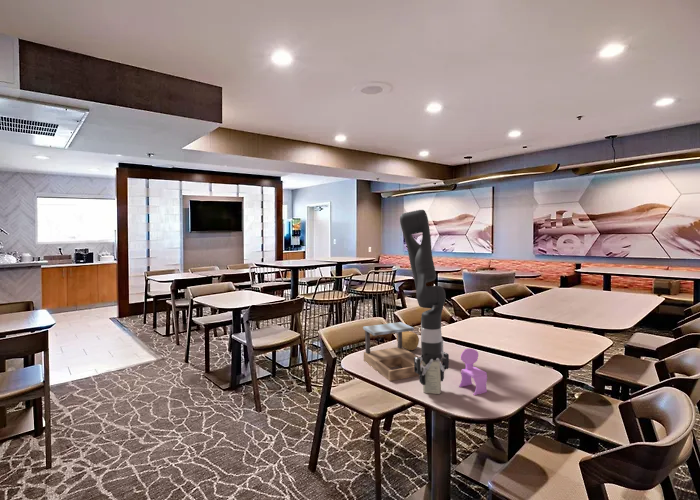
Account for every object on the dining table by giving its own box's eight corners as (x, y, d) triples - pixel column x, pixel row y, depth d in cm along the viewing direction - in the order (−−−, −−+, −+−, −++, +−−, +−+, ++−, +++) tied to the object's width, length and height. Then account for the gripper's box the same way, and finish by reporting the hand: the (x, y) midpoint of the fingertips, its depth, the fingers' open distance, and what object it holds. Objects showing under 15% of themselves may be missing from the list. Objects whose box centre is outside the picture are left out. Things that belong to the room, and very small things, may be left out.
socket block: (401, 354, 181) (400, 321, 180) (431, 373, 157) (431, 335, 156) (363, 360, 174) (363, 326, 173) (389, 381, 150) (389, 341, 149)
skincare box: (441, 390, 140) (440, 358, 140) (440, 394, 136) (439, 362, 136) (424, 388, 142) (423, 356, 142) (422, 392, 138) (422, 360, 138)
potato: (408, 343, 199) (408, 326, 199) (423, 352, 184) (422, 333, 184) (394, 345, 196) (393, 327, 196) (407, 354, 182) (407, 335, 181)
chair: (472, 396, 134) (472, 355, 134) (456, 387, 142) (456, 349, 142) (490, 392, 138) (490, 352, 137) (473, 383, 146) (473, 345, 145)
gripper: (441, 334, 144) (441, 375, 145) (409, 339, 139) (410, 382, 140) (453, 339, 137) (453, 383, 138) (420, 344, 132) (420, 389, 133)
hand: (431, 382), depth 139 cm, fingers closed on skincare box, 7 cm apart
